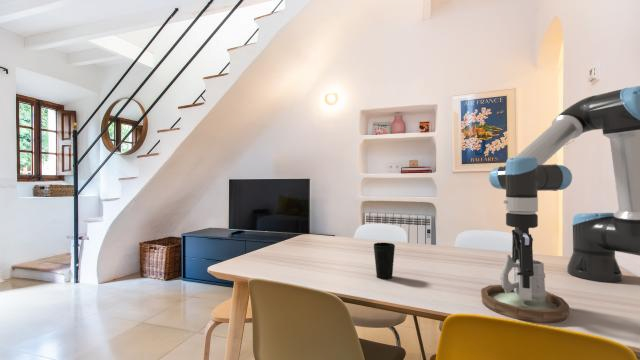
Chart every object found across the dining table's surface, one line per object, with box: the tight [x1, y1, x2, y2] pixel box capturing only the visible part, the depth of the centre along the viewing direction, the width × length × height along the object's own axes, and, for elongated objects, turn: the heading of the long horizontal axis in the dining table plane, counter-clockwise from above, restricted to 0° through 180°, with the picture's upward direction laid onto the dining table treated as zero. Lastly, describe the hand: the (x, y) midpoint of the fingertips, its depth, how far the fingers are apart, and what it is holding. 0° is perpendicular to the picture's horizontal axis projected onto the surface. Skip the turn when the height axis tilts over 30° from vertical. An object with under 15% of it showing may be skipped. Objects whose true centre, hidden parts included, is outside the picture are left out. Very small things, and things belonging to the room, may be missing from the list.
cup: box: [373, 242, 396, 280], centre depth 116 cm, size 8×8×12 cm
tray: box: [480, 284, 570, 324], centre depth 88 cm, size 20×20×3 cm
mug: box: [499, 253, 548, 302], centre depth 88 cm, size 8×12×12 cm, turn 90°
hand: (522, 293), depth 88 cm, fingers closed on mug, 7 cm apart
